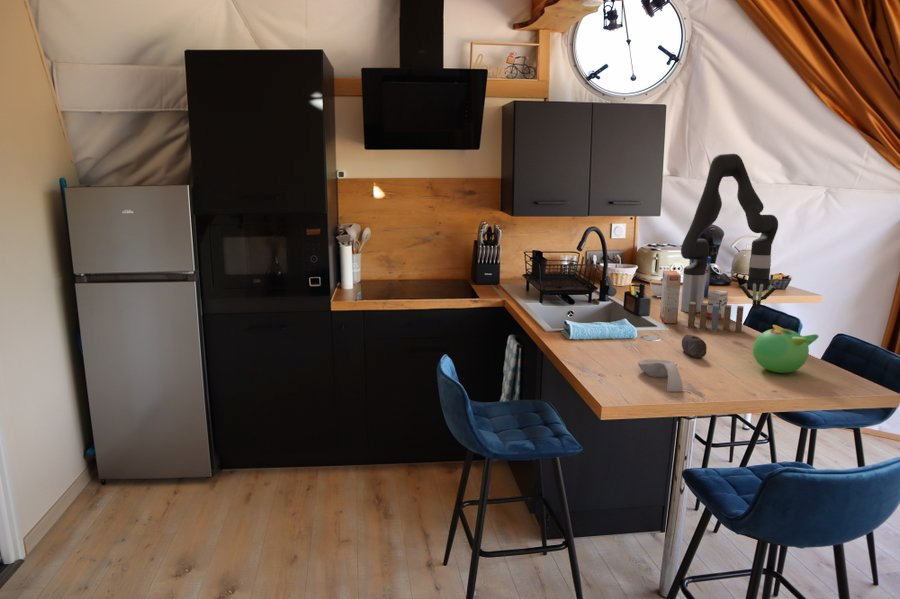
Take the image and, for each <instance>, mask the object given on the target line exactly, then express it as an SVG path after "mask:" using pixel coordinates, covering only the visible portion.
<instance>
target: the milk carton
mask: <svg viewBox="0 0 900 599" xmlns="http://www.w3.org/2000/svg"><path fill="white" fill-rule="evenodd" d="M694 261H695V259H689V264H688V266H689V265H691V264H692V263H693V262H694ZM711 262H712V257H711V256H708V261H707V268H706V271H705V280H704V296H708V297H709V292H710V291H709V290H710V277H711V276H710V275H711V265H712V263H711Z"/></svg>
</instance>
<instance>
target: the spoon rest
mask: <svg viewBox="0 0 900 599" xmlns="http://www.w3.org/2000/svg"><path fill="white" fill-rule="evenodd" d="M637 364H638V367H639V369H640V370H641V371H642V372H644V373H645V374H646V375H648V376H650V377H653V378H665V377H667V384H666V392H668V393H681V392H683V391H684V388H683V386H684V385H683V382H682V378H681V375H680V370H679V369H678V367H677V363H676V362H675V361H671V360H666V359H658V358H657V359H655V358H654V359H653V358H651V359H649V358H648V359H642V360H640V359H639V360H638V362H637Z"/></svg>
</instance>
